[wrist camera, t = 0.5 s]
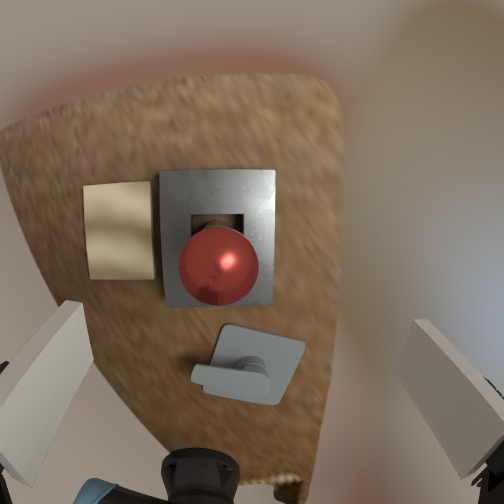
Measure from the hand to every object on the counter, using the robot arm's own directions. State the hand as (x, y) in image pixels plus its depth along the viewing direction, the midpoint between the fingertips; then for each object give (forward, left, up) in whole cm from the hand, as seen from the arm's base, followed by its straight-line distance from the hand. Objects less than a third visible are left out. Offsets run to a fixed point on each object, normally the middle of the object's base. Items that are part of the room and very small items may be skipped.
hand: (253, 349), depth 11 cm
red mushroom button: (0, +1, -27) cm, 27 cm away
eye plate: (0, +1, -27) cm, 27 cm away
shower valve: (-19, -2, -28) cm, 34 cm away
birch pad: (+1, +14, -27) cm, 30 cm away
